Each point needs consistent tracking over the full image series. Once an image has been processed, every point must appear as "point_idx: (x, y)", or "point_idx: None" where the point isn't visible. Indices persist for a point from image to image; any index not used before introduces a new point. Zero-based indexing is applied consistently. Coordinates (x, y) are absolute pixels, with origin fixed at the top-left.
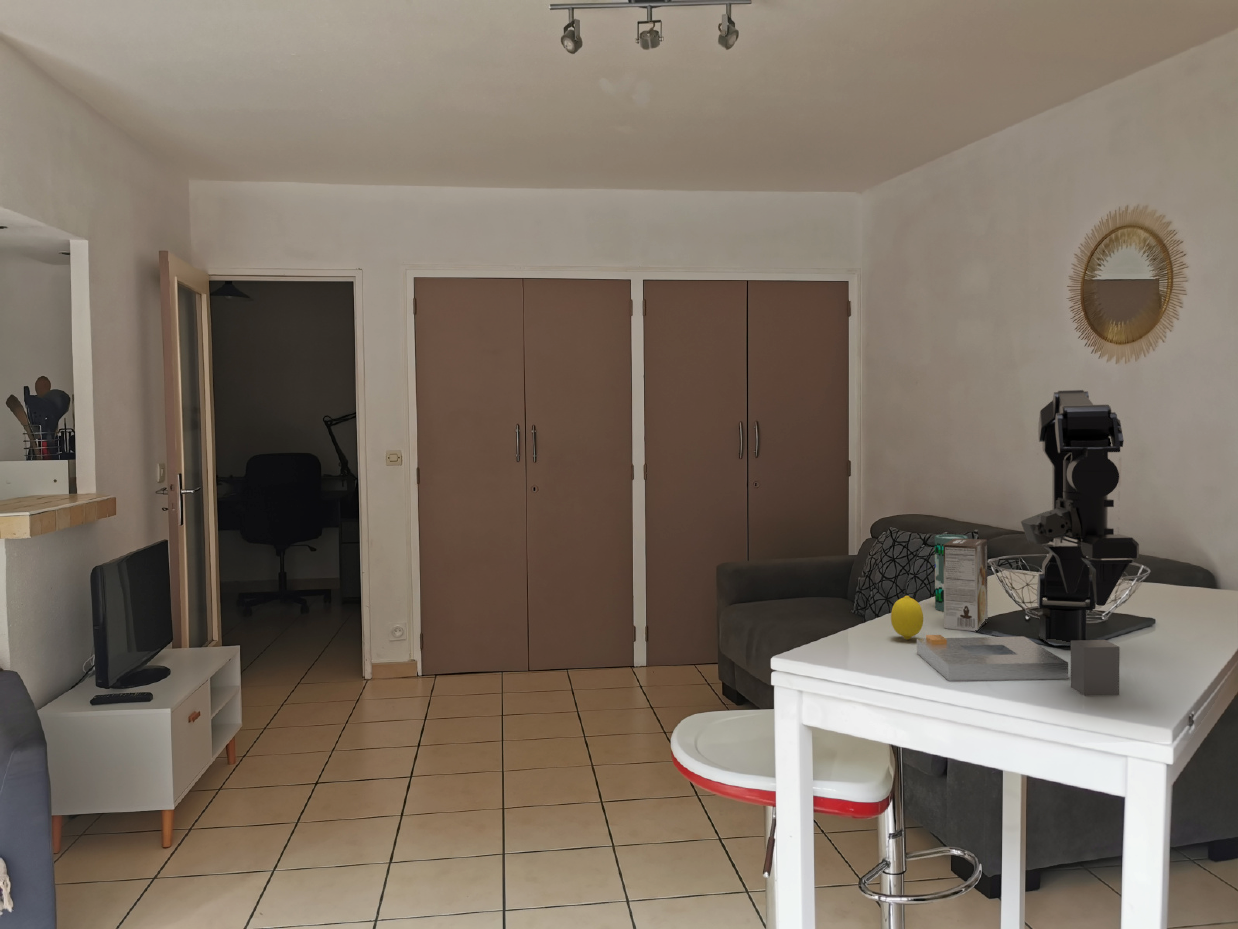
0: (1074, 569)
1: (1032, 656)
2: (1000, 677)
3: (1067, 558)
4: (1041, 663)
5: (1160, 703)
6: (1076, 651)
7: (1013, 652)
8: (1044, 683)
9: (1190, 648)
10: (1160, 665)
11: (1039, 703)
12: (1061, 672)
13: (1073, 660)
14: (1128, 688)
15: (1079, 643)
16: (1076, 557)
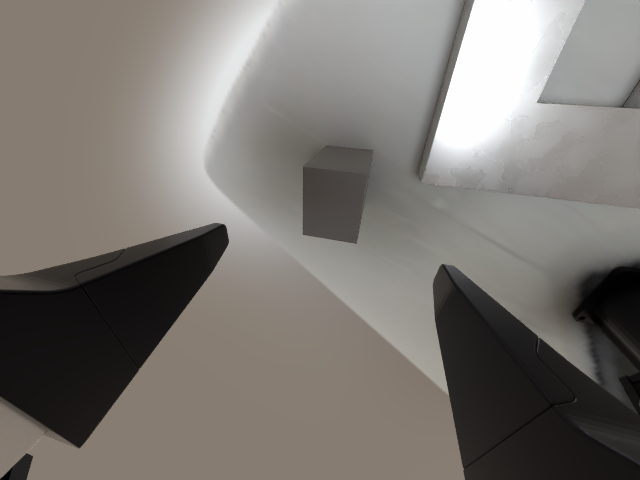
0: (465, 374)
1: (498, 132)
2: (465, 5)
3: (523, 440)
4: (437, 124)
5: (287, 225)
6: (341, 165)
7: (568, 105)
8: (407, 113)
9: None
10: (432, 321)
11: (292, 30)
12: (422, 164)
13: (357, 161)
14: None
15: (337, 177)
16: (491, 469)
